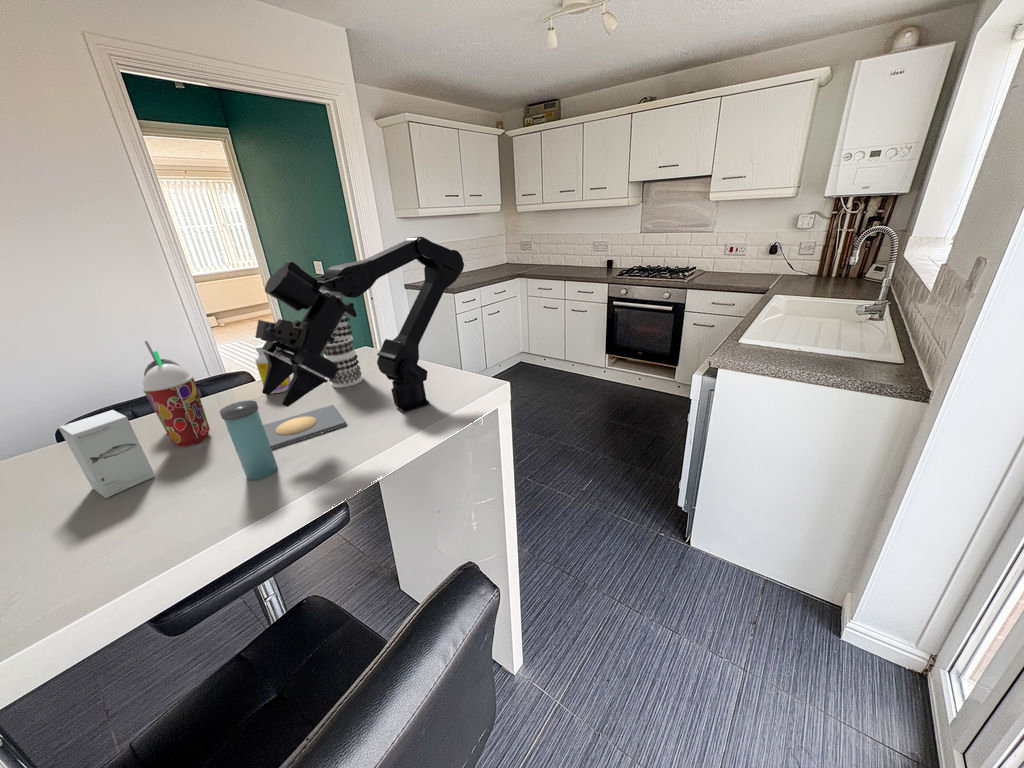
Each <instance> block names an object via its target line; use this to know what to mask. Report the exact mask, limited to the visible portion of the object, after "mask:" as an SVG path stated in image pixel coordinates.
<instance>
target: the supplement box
mask: <svg viewBox="0 0 1024 768" xmlns="http://www.w3.org/2000/svg"><path fill="white" fill-rule="evenodd" d="M58 429H59V431H60V433H61V435H62V438H64V440H65V443H66V444H67V445H68V448H69V449H70V451H71V452H72V454H73V456H74V458H75V460H76V461H77V463H78V465H79V467H80V469H81V470H82V473H83V474H84V476H85V478H86V479H87V481H88V483H89V485H90V487H91V488H92V489H93V490H94V491H96V492H97V493H98V494H99V495H101V496H102V497H103V498H105V499H108V498H110V497H112V496H114V495H117V494H119V493H121V492H123V491H125V490H127V489H130V488H131V487H134V486H136V485H139V484H142V482H145V481H147V480H151V479H154V478H155V477H156V474H155V472H154V470H153V468H152V466H151V464H150V462H149V460H148V458H147V456H146V454H145V451H143V448H142V446H141V444H140V442H139V440H138V438H137V435H136V433H135V430H134V429H133V427H132V425H131V422H130V421H129V418H128V416H126V415H124V414H122V413H120V412H119V411H116V410H114V409H111V410H108V411H104V412H101V413H99V414H95V415H92V416H90V417H89V416H88V417H85V418H82V419H80V420H79V419H78V420H77V421H74V422H70V423H66V424H63V425H61V426H59V427H58Z"/></svg>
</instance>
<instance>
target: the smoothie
mask: <svg viewBox="0 0 1024 768" xmlns="http://www.w3.org/2000/svg"><path fill="white" fill-rule="evenodd" d="M153 353H154V355H155V358H156V360H157V362H158V365H157V366H155V367H153V368H151V369H150V370H149V371H148V372H147V373H146V375H145V377H144V376H143V382H142V386H141V390H142V391H143V393H144V395H145V396H146V398H147V400H148V402H149V403H150V405H151V407H152V409H153V411H154V412H155V414H156V416H157V417H158V419H159V421H160V424H161V425H162V426H163V429H164V430H165V432H166V434H167V435H168V438H169V439H170V440H171V442H172V443H175V444H176V446H177V447H183V448H184V447H185V448H186V447H190V446H194V445H197V444H200V443H201V442H204V441H205V440H207V439H208V438H209V435H210V434H209V432H210V431H211V429H210V425H209V422H208V419H207V416H206V412H205V409H204V406H203V404H202V400H201V397H200V394H199V391H198V387H197V385H196V381H195V379H194V375H193V374H192V373H190V372H188V370H186V369H185V368H184V367H183V366H181V365H180V366H178V365H179V364H178V365H175V364H163V363H162V361H161V359H162V358H161V357H160V354H159V352H158V350H155V351H154V350H153Z"/></svg>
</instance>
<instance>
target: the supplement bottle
mask: <svg viewBox="0 0 1024 768" xmlns="http://www.w3.org/2000/svg"><path fill="white" fill-rule="evenodd" d="M265 343H266V342H264V343H261V344H256V346H255V349H256V352H257V353H258V354H257V355H256V357H255V358H254V359H255V360H254V361H255V364H256V367H257V371H258V373H259V377H260V380H261V382H262V384H263V385H262V387H263V386H264V382H265V378H266V374H267V370H268V361H267V359H266V356H265V355H264V352H266V353H269V352H268V351H266V350H264V349H262V348H263V346H264V344H265ZM291 380H292V379H291V375H290V376H289V377H288V378H287V379H286V380H285V381H283V382H282V383H281V384H280V385H279V386H278V387H277V388H276V389H275V390H274V391H273V392H271V393H270V394H271V395H274V393H277V394H280V393H284V392H287V391H286V390H287V389H288V387H289V385H290V382H291ZM270 394H269V395H270Z"/></svg>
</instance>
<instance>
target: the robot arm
mask: <svg viewBox="0 0 1024 768" xmlns="http://www.w3.org/2000/svg"><path fill="white" fill-rule="evenodd" d="M414 260H416V261H417V262H418V263H420V264H421V265H423V266H424V268H423V271H424V273H423V274H424V282H423V283H422V286H421V288H420V289H419V292H418V294H417V295H416V298H415V300H414V302H413V304H412V307H411V309H410V310H409V313H408V314H407V316H406V319H405V321H404V322H403V325H402V327H401V329H400V331H399V333H398V334H397V336H396V337H395V338H393V339H390V338H389V339H388V338H385V339H384V341H383V343H382V346H381V348H380V350H379V351H378V352H377V353H376V355H377V356H378V358H377V360H376V365H377V367H378V370H379V371H380V373H382V374H383V375H385V376H386V377H387V379H388V380H389V381H392V382H391V383H392V388H391V394H392V398H393V403H394V405H395V407H396V408H398V409H399V410H401V411H402V412H403V413H407V412H409V411H413V410H416V409H418V408H421V407H424V406H427V405H430V400H428V399H427V396H426V390H425V383H424V382H425V381H427V379H428V370H427V369H425V368H423V367H422V366H420V365H419V364H418V363H419V359H420V351H419V349H420V348H419V347H420V343H421V340H422V339H423V336H424V334H425V333H426V330H427V328H428V326H429V324H430V322H431V320H432V317H433V315H434V313H435V311H436V309H437V307H438V305H439V303H440V300H441V299H442V296H443V295H444V292H445V290H446V289H448V288H449V287H450V286H452V285H453V284H454V283H455V282H456V281H457V280H458V278H459V277H460V275H461V274H462V272H463V270H464V267H465V262H464V260H463V256H462V254H461V253H460V251H458V250H456V249H449V248H448V247H445V246H443V245H441V244H437V243H435V242H432V241H431V240H429V239H428V238H426V237H424V236H410V237H407V238H406V239H405V240H404V241H401V242H400V243H397V244H395V245H393V246H390V247H388V248H387V249H385V250H382V251H380V252H378V253H375V254H374V255H372V256H369V257H367V258H365V259H362V260H357V261H352V262H345V263H341V264H337V265H332V266H330V267H329V268H327V269H326V270H325V271H324V274H321V275H318V276H314V277H313V276H312V275H310V274H308V273H307V272H306V271H304V270H303V269H302V268H301V267H300V266H299V265H298V264H296V263H295V262H294V261H286V262H285V263H284V265H283V266H282V267H279V269H278V270H276V271H275V273H274V274H271V276H270V277H269V278H268V280H267V281H266V284H265V287H264V293H266V294H268V295H269V296H271V297H273V298H274V299H276V300H277V301H279V302H281V303H282V304H284V305H286V306H287V307H289V308H291V309H292V310H294V311H296V312H300V311H301V310H306V312H305V314H304V316H303V317H302V319H301V320H299V319H296V320H294V321H290V320H286V319H281V318H279V319H278V320H277V321H276V322H273V321H268V320H267V321H266V320H262V319H258V320H257V326H256V331H255V338H256V339H260V340H261V341H264V343H265V344H264V346H263V348H262V349H264V350H266V351H268V352H269V353H266V352H264V355H265V356H266V359H267V361H268V370H267V374H266V378H265V382H264V386H263V385H262V391H261V393H262V394H264V395H266V396H268V395H270V393H271V392H273V391H274V390H275V389H276V388H277V387H278V386H279V385H280V384H281V383H282V382H283V381H285V380H286V379H287V378H288V377H289V376H290V377H291V375H292V374H293V375H292V379H291V382H290V385H289V387H288V389H287V391H285V394H284V397H283V400H282V403H281V405H283V406H285V407H291V406H292V405H293V404H295V403H296V402H297V401H299V400H300V399H301V398H303V397H304V396H305V395H307V394H309V393H310V392H312V391H313V390H315V389H316V388H318V387H319V386H321V385H322V384H324V383H328V381H329V379H332V380H333V379H334V377H335V376H336V374H337V372H338V368H337V364H336V363H334V362H332V361H330V360H328V359H326V358H325V357H324V355H322V353H324V349H325V347H326V345H327V343H328V342H329V343H333V342H334V340H335V338H333V337H332V335H333V333H334V331H335V330H336V328H337V326H338V325H339V323H340V321H341V319H342V318H343V316H344V315H346V317H349V318H350V317H351V318H356V317H357V316H358V314H357V312H356V310H355V307H354V306H355V304H354V302H349V301H348V302H345V301H343V299H342V300H340V299H339V298H337V297H336V296H341V297H343V298H349V299H350V298H352V299H354V298H359V297H360V296H362V295H363V294H364V293H365V292H367V291H368V290H370V289H371V287H373V285H375V283H376V281H377V280H379V279H380V278H381V277H383V276H385V275H387V274H390V273H391V272H394V271H395V270H397V269H399V268H401V267H403V266H405V265H407V264H409V263H411V262H414ZM320 290H324V291H329V292H330V293H331V294H333V295H331V296H329V297H328V296H327V295H325V294H323V293H322V292H321V291H320ZM334 295H336V296H334ZM327 378H328V379H327Z"/></svg>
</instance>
